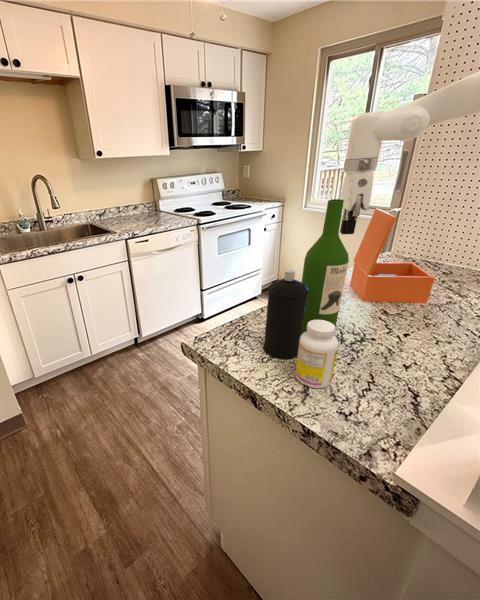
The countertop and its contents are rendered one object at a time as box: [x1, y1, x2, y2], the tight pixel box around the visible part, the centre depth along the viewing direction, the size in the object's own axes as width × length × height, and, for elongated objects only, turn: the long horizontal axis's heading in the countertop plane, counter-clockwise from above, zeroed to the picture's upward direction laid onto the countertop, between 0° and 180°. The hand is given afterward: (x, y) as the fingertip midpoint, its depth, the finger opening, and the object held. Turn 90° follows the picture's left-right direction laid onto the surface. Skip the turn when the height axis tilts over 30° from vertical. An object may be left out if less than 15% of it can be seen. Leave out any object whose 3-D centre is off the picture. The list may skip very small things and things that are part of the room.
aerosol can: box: [262, 269, 309, 360], centre depth 70 cm, size 8×8×20 cm
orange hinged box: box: [349, 261, 436, 304], centre depth 93 cm, size 16×13×8 cm
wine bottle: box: [301, 198, 350, 335], centre depth 73 cm, size 9×9×32 cm
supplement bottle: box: [294, 320, 339, 389], centre depth 61 cm, size 7×7×13 cm
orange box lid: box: [353, 208, 398, 275], centre depth 89 cm, size 16×13×1 cm
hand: (346, 233), depth 90 cm, fingers closed
